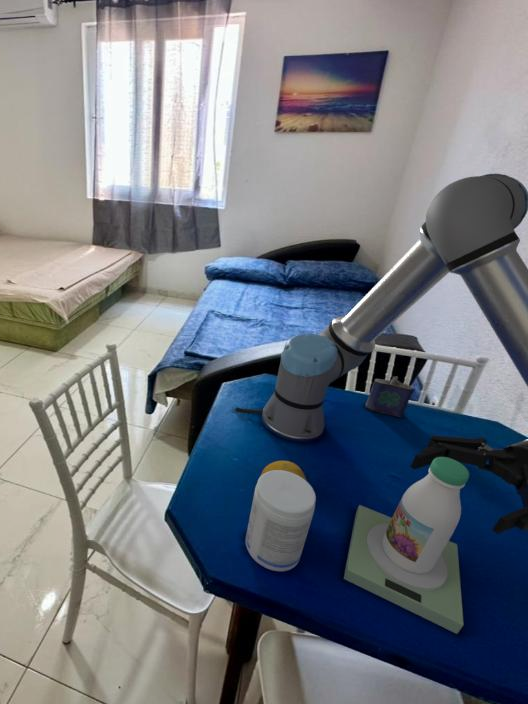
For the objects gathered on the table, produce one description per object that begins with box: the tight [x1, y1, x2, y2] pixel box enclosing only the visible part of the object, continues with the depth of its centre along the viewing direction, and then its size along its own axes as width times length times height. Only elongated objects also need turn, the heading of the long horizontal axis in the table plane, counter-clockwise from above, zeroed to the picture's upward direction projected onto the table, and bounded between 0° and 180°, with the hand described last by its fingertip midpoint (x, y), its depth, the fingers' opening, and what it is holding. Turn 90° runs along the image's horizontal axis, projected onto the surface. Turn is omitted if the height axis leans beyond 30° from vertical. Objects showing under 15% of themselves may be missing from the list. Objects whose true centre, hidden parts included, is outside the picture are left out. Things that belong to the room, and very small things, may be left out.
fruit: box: [260, 460, 307, 481], centre depth 82 cm, size 9×8×8 cm
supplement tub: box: [245, 470, 317, 572], centre depth 69 cm, size 10×10×15 cm
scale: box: [343, 504, 465, 635], centre depth 70 cm, size 16×16×3 cm
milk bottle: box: [382, 457, 470, 574], centre depth 64 cm, size 8×8×20 cm
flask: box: [365, 375, 414, 418], centre depth 109 cm, size 9×3×11 cm, turn 65°
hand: (452, 491), depth 64 cm, fingers open, 13 cm apart
